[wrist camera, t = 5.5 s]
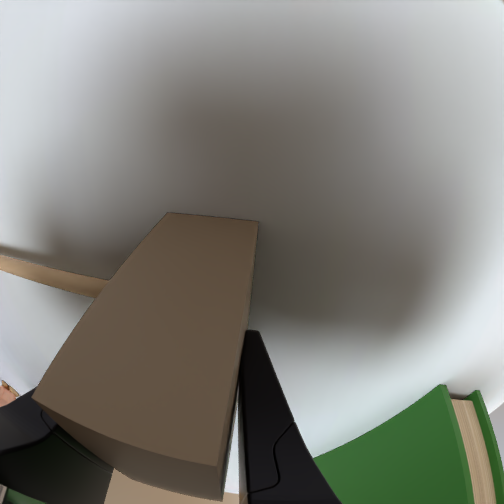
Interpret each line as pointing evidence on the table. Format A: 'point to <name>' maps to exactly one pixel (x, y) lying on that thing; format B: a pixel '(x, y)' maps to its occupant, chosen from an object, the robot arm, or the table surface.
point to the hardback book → (421, 457)
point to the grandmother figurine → (7, 394)
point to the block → (157, 353)
